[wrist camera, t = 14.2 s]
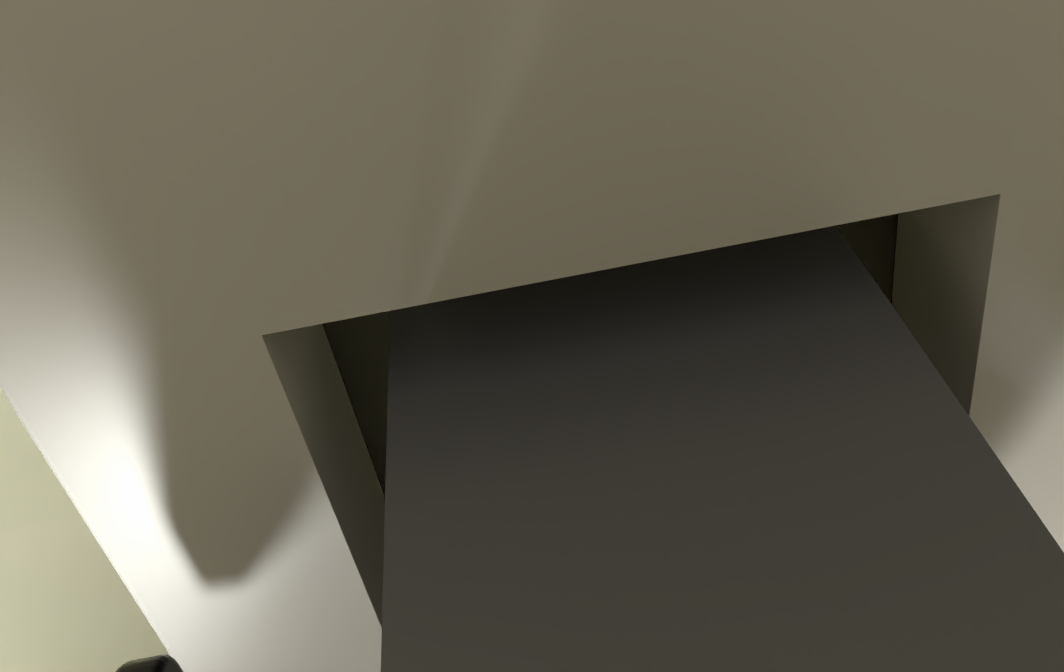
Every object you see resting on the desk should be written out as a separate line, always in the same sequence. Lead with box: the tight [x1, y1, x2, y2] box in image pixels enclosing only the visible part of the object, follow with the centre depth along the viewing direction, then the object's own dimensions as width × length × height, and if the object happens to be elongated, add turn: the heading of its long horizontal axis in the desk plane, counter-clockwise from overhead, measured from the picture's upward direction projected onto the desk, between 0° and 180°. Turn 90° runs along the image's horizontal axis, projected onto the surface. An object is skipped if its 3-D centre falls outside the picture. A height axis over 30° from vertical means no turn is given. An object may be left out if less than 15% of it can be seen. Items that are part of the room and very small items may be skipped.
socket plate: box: [0, 0, 1064, 672], centre depth 10 cm, size 12×10×2 cm
